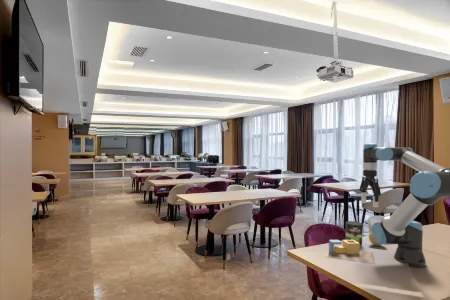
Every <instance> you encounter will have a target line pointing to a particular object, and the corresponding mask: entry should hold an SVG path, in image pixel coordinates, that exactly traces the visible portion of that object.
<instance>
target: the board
mask: <svg viewBox="0 0 450 300" xmlns="http://www.w3.org/2000/svg"><path fill="white" fill-rule="evenodd" d="M327 258H328V259H335V260H343V261H350V262H355V263H356V262H358V263H364V264H365V263H366V264H372V265H376V260H375V256H374V253H373V252H372V251H366V250H365V251H363V250H360V254H347V253H336V252H335V251H334V253H330V252H329V251H328V255H327Z"/></svg>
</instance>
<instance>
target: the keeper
mask: <svg viewBox="0 0 450 300" xmlns="http://www.w3.org/2000/svg"><path fill="white" fill-rule="evenodd" d="M335 245H343V241H341V240H339V239H329V240H328V253H329V252H330V253H334V246H335Z"/></svg>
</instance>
